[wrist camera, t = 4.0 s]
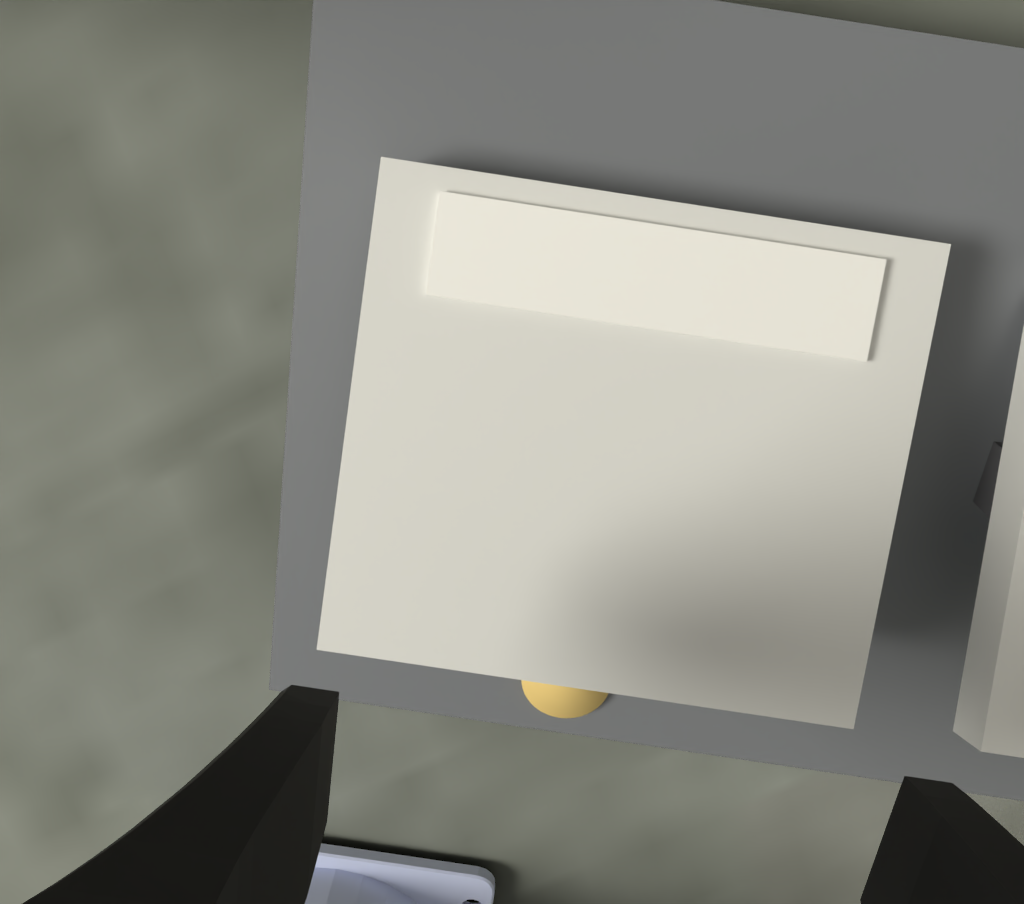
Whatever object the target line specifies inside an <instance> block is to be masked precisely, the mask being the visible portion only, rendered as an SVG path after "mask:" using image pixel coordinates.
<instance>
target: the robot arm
mask: <svg viewBox="0 0 1024 904" xmlns="http://www.w3.org/2000/svg"><path fill="white" fill-rule="evenodd" d="M338 701H339V692H337V691H331V690H324V689H317V688H311V687H304V686H297V685H290V686H289V687H287V688H286V689H284V690H283V691H282V692H281V693H280V694H279V695H278V696H277V697H276V698H275V699H274V700H273V701H272V702H271V703H270V704H269V706H268V707H267V708H266V709H265V710H264V711H263V712H262V713H261V714H260V715H259V716H258V717H257V718H256V719H255V720H254V721H253V722H252V723H251V724H250V725H249V726H248V727H247V728H246V729H245V730H244V731H243V732H242V733H241V734H240V735H239V736H238V737H237V738H236V739H235V740H234V741H233V742H232V743H231V744H230V745H229V746H228V747H227V748H226V749H224V750H223V751H222V752H221V753H220V754H219V755H218V756H217V757H216V758H215V759H213V760H212V761H211V762H210V763H209V764H208V765H207V766H206V767H205V768H204V769H202V770H201V771H200V772H199V773H198V774H197V775H196V776H195V777H194V778H193V779H192V780H190V781H189V782H188V783H187V784H186V785H185V786H184V787H182V788H181V789H180V790H179V791H178V792H176V793H175V794H174V795H173V796H172V797H170V798H169V799H168V800H167V801H165V802H164V803H163V804H162V805H161V806H159V807H158V808H157V809H156V810H154V811H153V812H152V813H151V814H149V815H148V816H147V817H146V818H145V819H143V820H142V821H141V822H140V823H138V824H137V825H136V826H135V827H133V828H132V829H131V830H130V831H128V832H127V833H126V834H124V835H123V836H122V837H120V838H119V839H118V840H116V841H115V842H114V843H112V844H111V845H110V846H108V847H107V848H106V849H104V850H103V851H101V852H100V853H99V854H97V855H96V856H94V857H93V858H92V859H90V860H89V861H87V862H86V863H84V864H83V865H81V866H80V867H78V868H77V869H76V870H74V871H73V872H71V873H70V874H68V875H67V876H65V877H64V878H62V879H61V880H59V881H58V882H56V883H55V884H53V885H52V886H50V887H48V888H47V889H45V890H44V891H42V892H40V893H39V894H37V895H36V896H34V897H32V898H31V899H29V900H27V901H26V902H24V903H23V904H493V899H494V893H495V878H494V876H493V875H492V873H491V872H490V871H488V870H487V869H485V868H482V867H479V866H473V865H466V864H459V863H452V862H446V861H439V860H432V859H425V858H418V857H411V856H405V855H398V854H391V853H384V852H377V851H370V850H364V849H357V848H350V847H343V846H336V845H329V844H323V843H321V842H322V838H323V835H324V831H325V827H326V823H327V815H328V805H329V795H330V784H331V774H332V763H333V753H334V743H335V732H336V722H337V712H338ZM469 899H474V900H477V901H479V902H478V903H471V902H468V901H466V900H469ZM860 900H861V904H1024V846H1023V845H1022V844H1021V843H1020V842H1019V841H1018V840H1017V839H1016V838H1015V837H1013V836H1012V835H1011V834H1010V833H1009V832H1008V831H1007V830H1006V829H1005V828H1004V827H1003V826H1002V825H1000V824H999V823H998V822H997V821H996V820H995V819H994V818H993V817H992V816H991V815H989V814H988V813H987V812H986V811H985V810H984V809H983V808H982V807H980V806H979V805H978V804H977V803H976V802H975V801H974V800H972V799H971V798H970V797H969V796H968V795H967V794H965V793H964V792H963V791H962V790H961V789H959V788H958V787H957V786H956V785H954V784H953V783H950V782H943V781H936V780H930V779H923V778H916V777H909V776H904V779H903V782H902V784H901V787H900V790H899V793H898V796H897V798H896V801H895V804H894V807H893V810H892V812H891V815H890V818H889V821H888V824H887V826H886V829H885V832H884V835H883V838H882V840H881V843H880V846H879V849H878V852H877V854H876V857H875V860H874V863H873V866H872V868H871V871H870V874H869V877H868V880H867V882H866V885H865V888H864V891H863V894H862V896H861V899H860Z"/></svg>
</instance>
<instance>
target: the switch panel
mask: <svg viewBox="0 0 1024 904" xmlns="http://www.w3.org/2000/svg"><path fill="white" fill-rule="evenodd" d="M381 157H386V158H393V159H399V160H406V161H412V162H419V163H425V164H432V165H438V166H445V167H451V168H458V169H464V170H471V171H478V172H484V173H491V174H497V175H504V176H510V177H517V178H523V179H530V180H536V181H543V182H549V183H556V184H562V185H569V186H575V187H582V188H588V189H595V190H601V191H608V192H614V193H621V194H627V195H634V196H641V197H647V198H654V199H660V200H667V201H673V202H680V203H686V204H693V205H699V206H706V207H712V208H719V209H725V210H732V211H738V212H745V213H751V214H758V215H764V216H771V217H777V218H784V219H790V220H797V221H803V222H810V223H817V224H823V225H830V226H836V227H843V228H849V229H856V230H862V231H869V232H875V233H882V234H888V235H895V236H901V237H908V238H914V239H921V240H927V241H934V242H940V243H947V244H951V247H950V252H949V257H948V262H947V267H946V272H945V277H944V282H943V287H942V292H941V297H940V302H939V307H938V312H937V317H936V322H935V327H934V332H933V337H932V342H931V347H930V352H929V356H928V361H927V366H926V371H925V376H924V381H923V386H922V391H921V396H920V401H919V406H918V411H917V416H916V421H915V426H914V431H913V436H912V441H911V446H910V451H909V456H908V461H907V466H906V471H905V476H904V481H903V486H902V491H901V496H900V501H899V506H898V511H897V516H896V521H895V526H894V530H893V535H892V540H891V545H890V550H889V555H888V560H887V565H886V570H885V575H884V580H883V585H882V590H881V595H880V600H879V605H878V610H877V615H876V620H875V625H874V630H873V635H872V640H871V645H870V650H869V655H868V660H867V665H866V670H865V675H864V680H863V685H862V690H861V695H860V699H859V704H858V709H857V714H856V719H855V724H854V729H848V728H841V727H834V726H828V725H821V724H814V723H807V722H801V721H794V720H787V719H780V718H774V717H767V716H760V715H753V714H747V713H740V712H733V711H727V710H720V709H713V708H706V707H700V706H693V705H686V704H679V703H673V702H666V701H659V700H652V699H646V698H639V697H632V696H625V695H619V694H612V693H605V692H598V691H592V690H585V689H578V688H571V687H565V686H558V685H551V684H544V683H538V682H531V681H524V680H517V679H511V678H504V677H497V676H490V675H484V674H477V673H470V672H463V671H457V670H450V669H443V668H436V667H430V666H423V665H416V664H409V663H403V662H396V661H389V660H382V659H376V658H369V657H362V656H355V655H349V654H342V653H335V652H328V651H322V650H317V642H318V635H319V627H320V619H321V612H322V604H323V596H324V589H325V581H326V573H327V566H328V558H329V550H330V543H331V535H332V527H333V520H334V512H335V504H336V497H337V489H338V481H339V474H340V466H341V459H342V451H343V443H344V436H345V428H346V420H347V413H348V405H349V397H350V390H351V382H352V374H353V367H354V359H355V351H356V344H357V336H358V328H359V321H360V313H361V305H362V298H363V290H364V283H365V275H366V267H367V260H368V252H369V244H370V237H371V229H372V221H373V214H374V206H375V198H376V191H377V183H378V175H379V168H380V160H381ZM1023 326H1024V48H1018V47H1012V46H1005V45H999V44H993V43H986V42H980V41H973V40H967V39H960V38H954V37H948V36H941V35H935V34H928V33H922V32H915V31H909V30H903V29H896V28H890V27H883V26H877V25H870V24H864V23H858V22H851V21H845V20H838V19H832V18H825V17H819V16H813V15H806V14H800V13H793V12H787V11H780V10H774V9H768V8H761V7H755V6H748V5H742V4H735V3H729V2H722V1H716V0H313V12H312V27H311V43H310V59H309V74H308V90H307V105H306V121H305V137H304V152H303V168H302V183H301V199H300V215H299V230H298V246H297V262H296V277H295V293H294V308H293V324H292V340H291V355H290V371H289V386H288V402H287V418H286V433H285V449H284V464H283V480H282V496H281V511H280V527H279V543H278V558H277V574H276V589H275V605H274V621H273V636H272V652H271V667H270V683H269V690H275V691H283V690H284V689H286V688H287V687H289V686H290V685H297V686H304V687H311V688H317V689H324V690H331V691H337V692H339V700H343V701H350V702H357V703H363V704H370V705H377V706H384V707H391V708H397V709H404V710H411V711H418V712H424V713H431V714H438V715H445V716H451V717H458V718H465V719H472V720H479V721H485V722H492V723H499V724H506V725H512V726H519V727H526V728H533V729H539V730H546V731H553V732H560V733H567V734H573V735H580V736H587V737H594V738H600V739H607V740H614V741H621V742H627V743H634V744H641V745H648V746H655V747H661V748H668V749H675V750H682V751H688V752H695V753H702V754H709V755H715V756H722V757H729V758H736V759H743V760H749V761H756V762H763V763H770V764H776V765H783V766H790V767H797V768H803V769H810V770H817V771H824V772H831V773H837V774H844V775H851V776H858V777H864V778H871V779H878V780H885V781H891V782H898V783H902V782H903V779H904V776H909V777H916V778H923V779H930V780H936V781H943V782H950V783H953V784H954V785H956V786H957V787H958V788H959V789H961V790H962V791H963V792H966V793H973V794H979V795H986V796H993V797H1000V798H1006V799H1013V800H1020V801H1024V758H1021V757H1014V756H1007V755H1000V754H994V753H987V752H981V751H979V750H978V749H977V748H975V747H974V746H972V745H971V744H970V743H968V742H967V741H966V740H964V739H963V738H962V737H960V736H959V735H957V734H956V733H955V732H953V727H954V721H955V715H956V710H957V704H958V698H959V693H960V687H961V681H962V675H963V670H964V664H965V658H966V652H967V647H968V641H969V635H970V630H971V624H972V618H973V612H974V607H975V601H976V595H977V589H978V584H979V578H980V572H981V567H982V561H983V555H984V549H985V544H986V538H987V532H988V526H989V521H990V515H991V509H992V504H993V498H994V492H995V486H996V481H997V475H998V469H999V463H1000V458H1001V452H1002V446H1003V441H1004V435H1005V429H1006V423H1007V418H1008V412H1009V406H1010V400H1011V395H1012V389H1013V383H1014V378H1015V372H1016V366H1017V360H1018V355H1019V349H1020V343H1021V337H1022V332H1023Z"/></svg>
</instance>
